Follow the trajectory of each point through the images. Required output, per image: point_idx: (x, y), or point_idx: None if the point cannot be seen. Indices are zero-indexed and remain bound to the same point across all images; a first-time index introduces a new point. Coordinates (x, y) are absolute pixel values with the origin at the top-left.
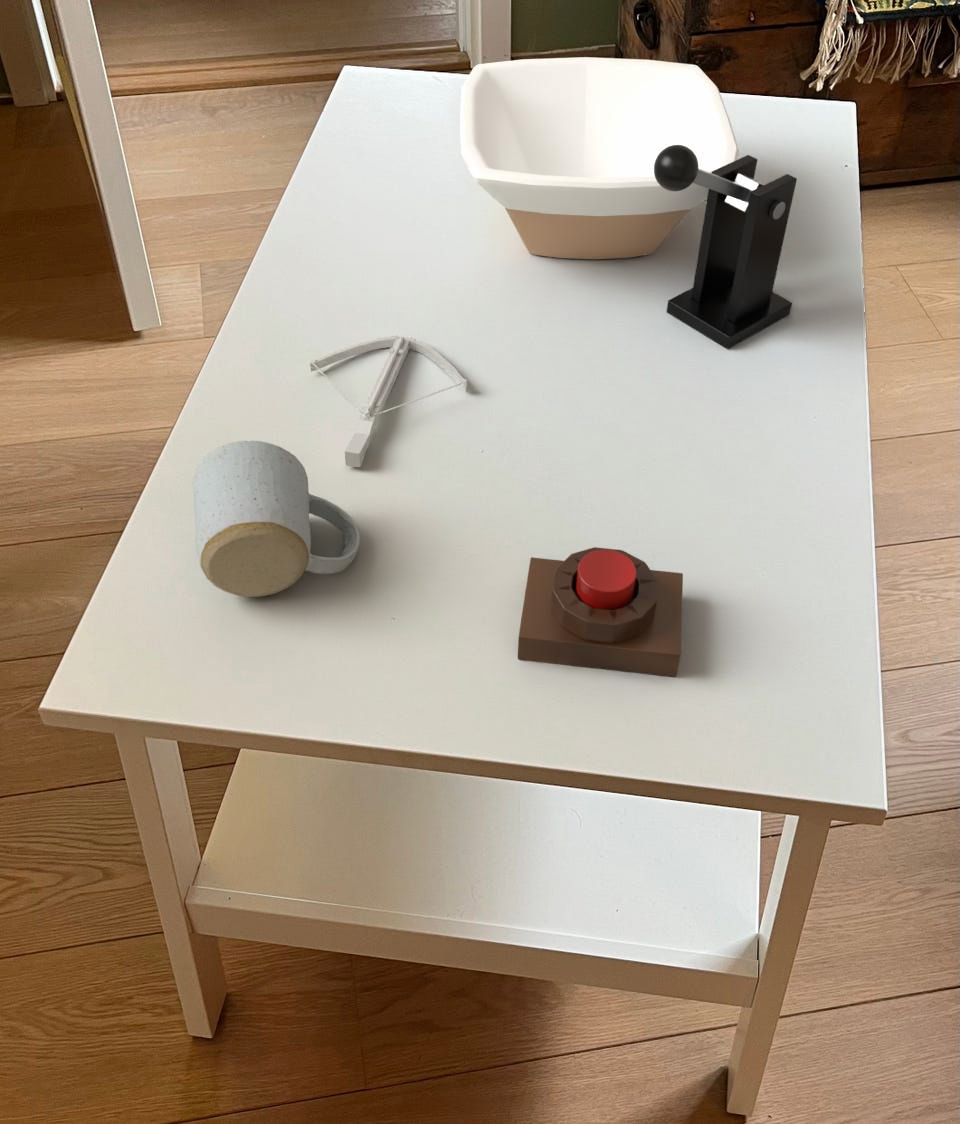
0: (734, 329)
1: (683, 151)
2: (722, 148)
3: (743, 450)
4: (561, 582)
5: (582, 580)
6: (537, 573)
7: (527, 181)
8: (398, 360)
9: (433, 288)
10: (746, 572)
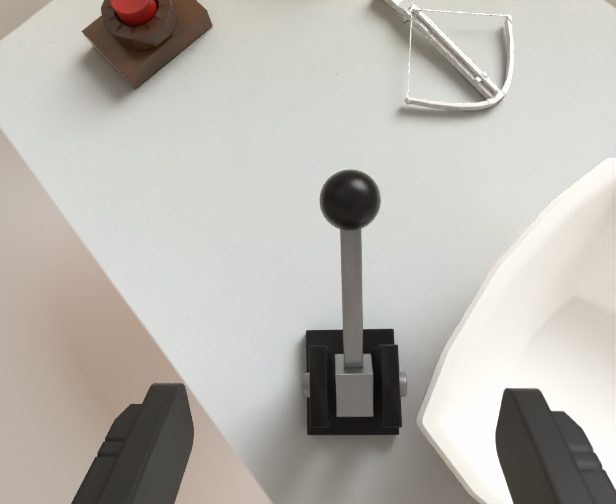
0: (313, 345)
1: (339, 189)
2: (486, 475)
3: (201, 234)
4: None
5: None
6: (192, 5)
7: (562, 196)
8: (469, 73)
9: (565, 173)
10: (116, 140)
